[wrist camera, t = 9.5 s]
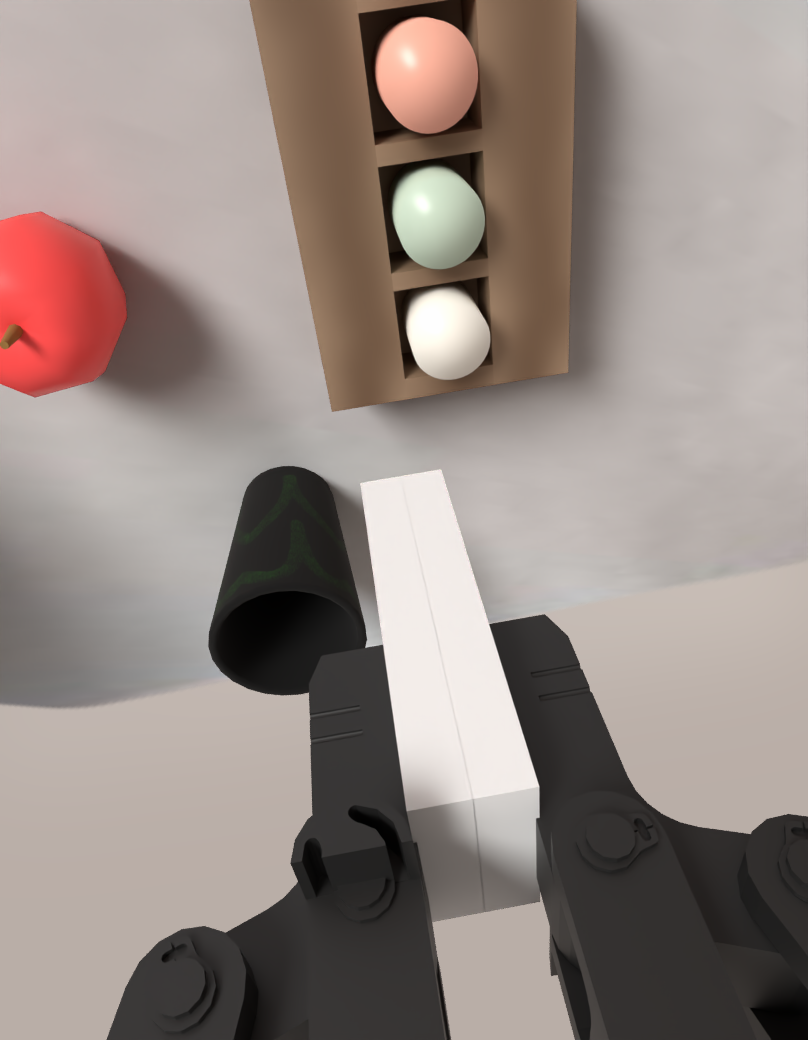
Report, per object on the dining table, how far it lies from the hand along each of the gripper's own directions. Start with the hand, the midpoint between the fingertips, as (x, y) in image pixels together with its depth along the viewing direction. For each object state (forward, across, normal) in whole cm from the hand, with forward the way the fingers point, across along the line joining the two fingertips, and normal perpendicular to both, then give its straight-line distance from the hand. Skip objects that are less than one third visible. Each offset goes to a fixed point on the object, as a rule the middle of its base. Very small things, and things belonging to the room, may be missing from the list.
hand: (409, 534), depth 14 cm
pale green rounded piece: (+24, +4, 0) cm, 24 cm away
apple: (+27, -14, -2) cm, 30 cm away
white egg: (+24, +4, -5) cm, 25 cm away
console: (+26, +4, 0) cm, 27 cm away
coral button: (+24, +4, +5) cm, 25 cm away
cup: (+27, -6, -17) cm, 32 cm away
